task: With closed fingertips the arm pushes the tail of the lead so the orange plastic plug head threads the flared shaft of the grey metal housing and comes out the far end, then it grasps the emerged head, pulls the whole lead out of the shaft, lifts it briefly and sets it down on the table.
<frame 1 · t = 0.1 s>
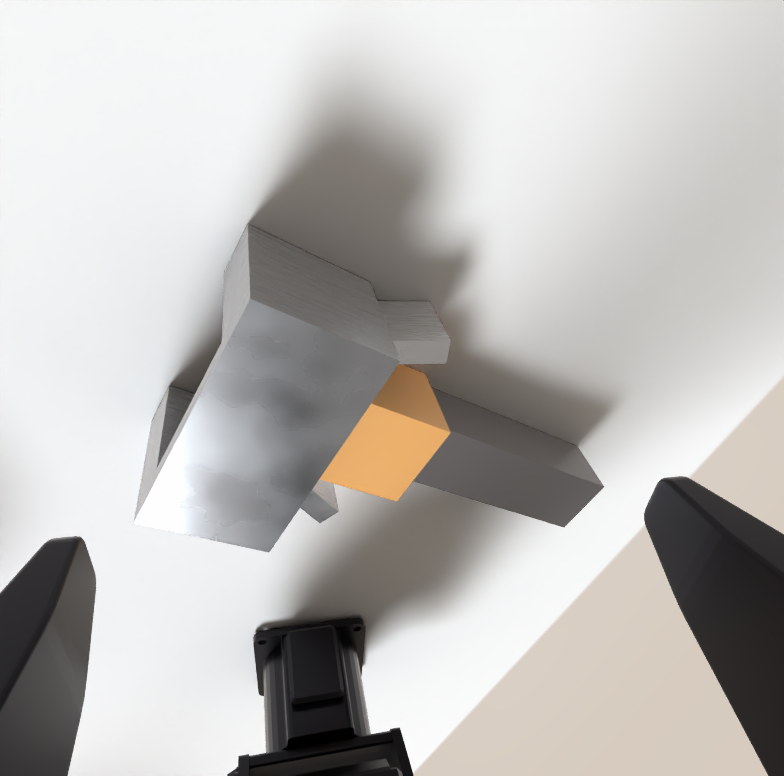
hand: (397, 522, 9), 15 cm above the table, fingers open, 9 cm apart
housing: (256, 354, 24), on the table
plug: (453, 426, 29), on the table
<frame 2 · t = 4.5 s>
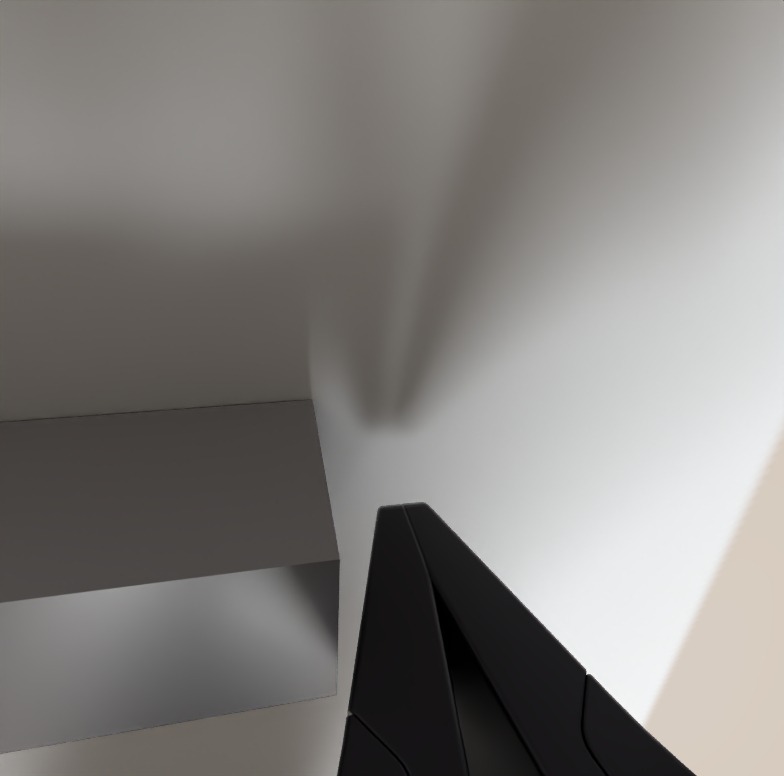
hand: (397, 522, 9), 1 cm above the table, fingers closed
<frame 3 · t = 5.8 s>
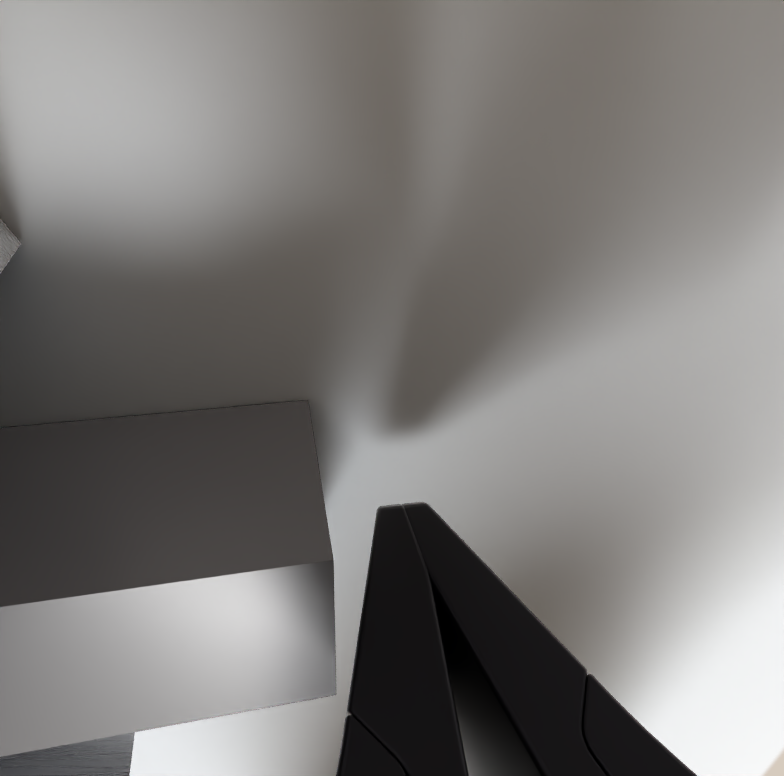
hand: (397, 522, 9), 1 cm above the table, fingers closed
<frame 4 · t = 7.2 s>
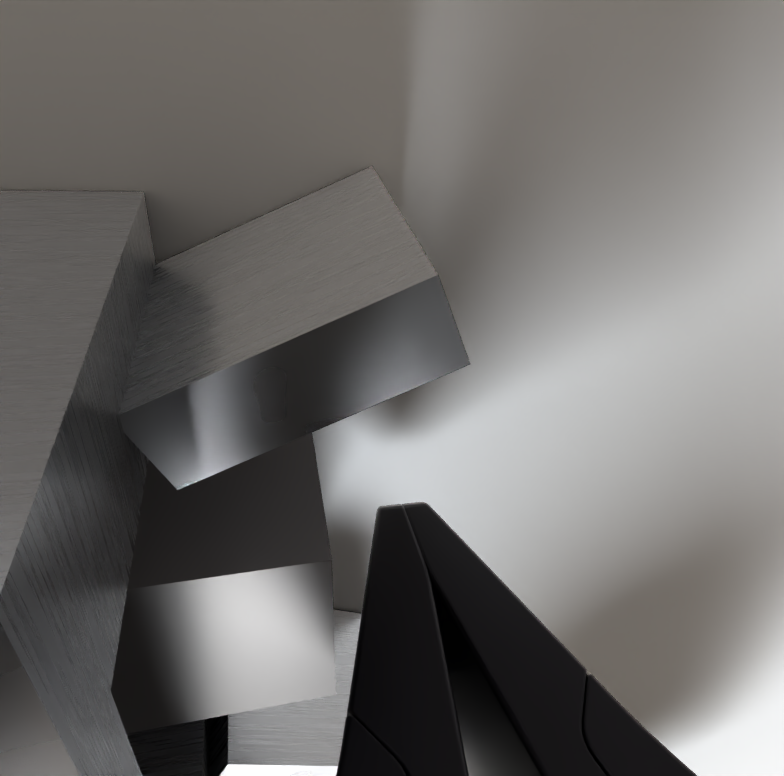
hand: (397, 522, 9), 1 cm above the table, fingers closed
housing: (19, 502, 9), on the table
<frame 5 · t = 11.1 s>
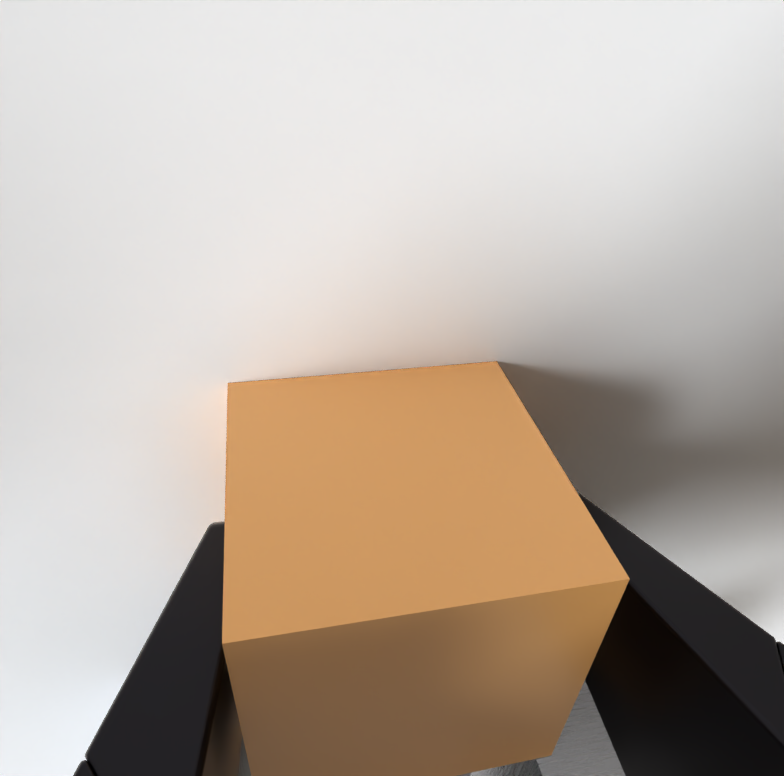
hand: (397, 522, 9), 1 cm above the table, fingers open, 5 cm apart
housing: (363, 702, 15), on the table
plug: (361, 638, 13), on the table, touching gripper
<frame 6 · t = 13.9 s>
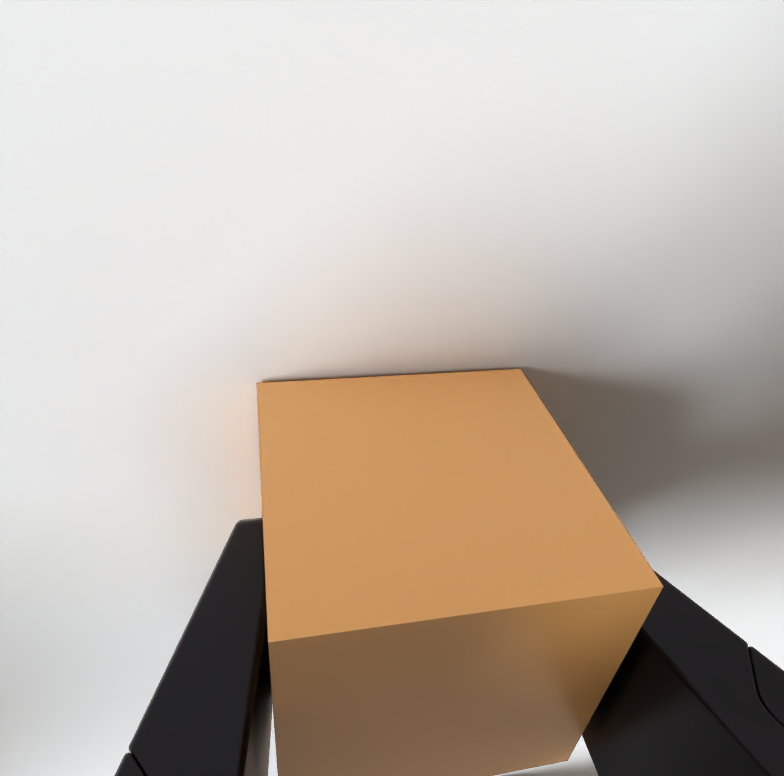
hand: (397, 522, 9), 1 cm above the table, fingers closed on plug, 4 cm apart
plug: (368, 641, 13), on the table, touching gripper
when the fingers open (2 cm above the table, at t = 16.6 s): plug drops 1 cm, on the table.
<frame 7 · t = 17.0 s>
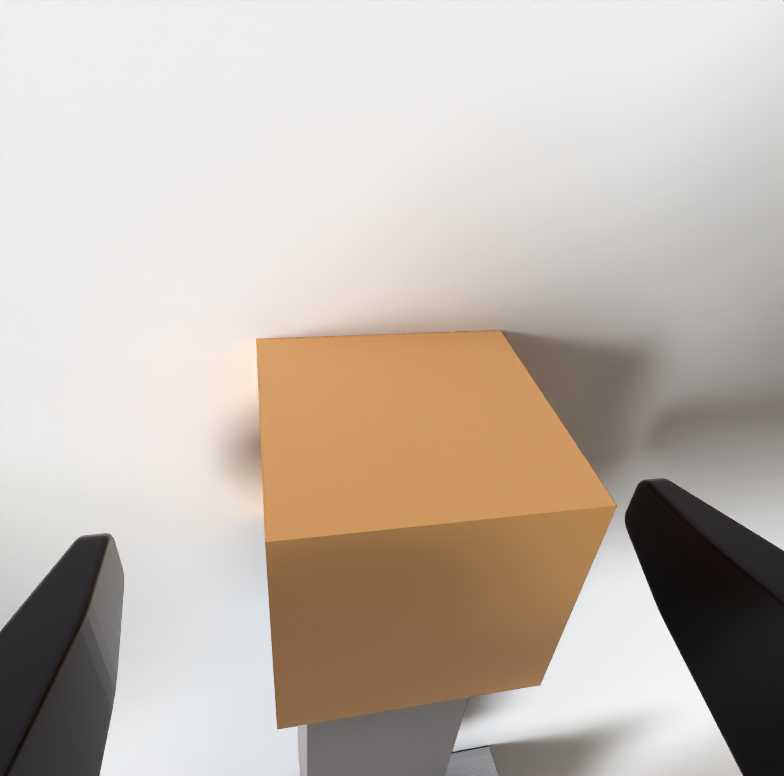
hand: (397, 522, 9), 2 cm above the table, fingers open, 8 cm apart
plug: (361, 596, 14), on the table
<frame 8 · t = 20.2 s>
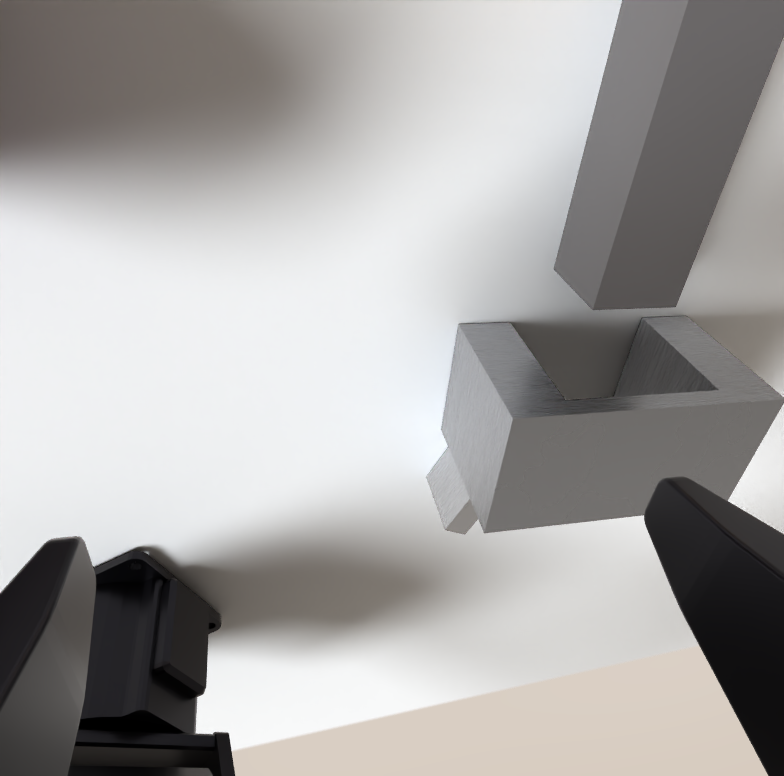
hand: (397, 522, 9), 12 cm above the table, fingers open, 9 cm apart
housing: (561, 373, 24), on the table
plug: (656, 48, 18), on the table
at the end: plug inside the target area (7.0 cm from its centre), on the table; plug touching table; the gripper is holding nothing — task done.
